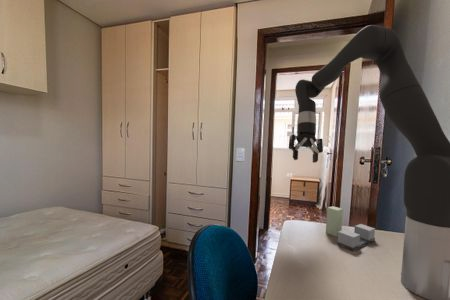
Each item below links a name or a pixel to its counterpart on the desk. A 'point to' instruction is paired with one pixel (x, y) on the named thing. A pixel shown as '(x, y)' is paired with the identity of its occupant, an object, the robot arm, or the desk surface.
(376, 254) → the desk surface
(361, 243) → the dark gray flat board
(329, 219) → the block
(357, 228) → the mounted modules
